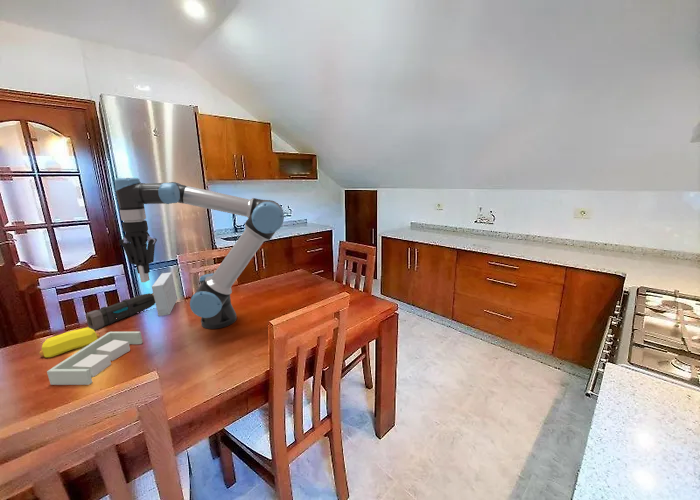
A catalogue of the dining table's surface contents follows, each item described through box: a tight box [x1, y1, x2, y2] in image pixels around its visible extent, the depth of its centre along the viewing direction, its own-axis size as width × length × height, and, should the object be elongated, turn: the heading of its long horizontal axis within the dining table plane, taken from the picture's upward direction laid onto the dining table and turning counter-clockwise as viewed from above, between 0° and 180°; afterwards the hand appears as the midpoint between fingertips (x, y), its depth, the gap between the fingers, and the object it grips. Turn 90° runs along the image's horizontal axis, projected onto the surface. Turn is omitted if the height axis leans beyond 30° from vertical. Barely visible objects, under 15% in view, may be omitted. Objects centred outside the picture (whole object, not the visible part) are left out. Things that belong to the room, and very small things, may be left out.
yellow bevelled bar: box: [38, 326, 101, 358], centre depth 118 cm, size 18×7×8 cm
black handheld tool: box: [85, 292, 156, 331], centre depth 144 cm, size 11×7×30 cm
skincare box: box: [151, 272, 178, 317], centre depth 153 cm, size 21×5×16 cm, turn 20°
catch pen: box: [46, 331, 143, 386], centre depth 109 cm, size 13×25×5 cm, turn 179°
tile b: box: [72, 354, 112, 378], centre depth 104 cm, size 7×7×4 cm
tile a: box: [96, 340, 131, 362], centre depth 113 cm, size 7×7×4 cm
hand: (145, 281), depth 116 cm, fingers closed
